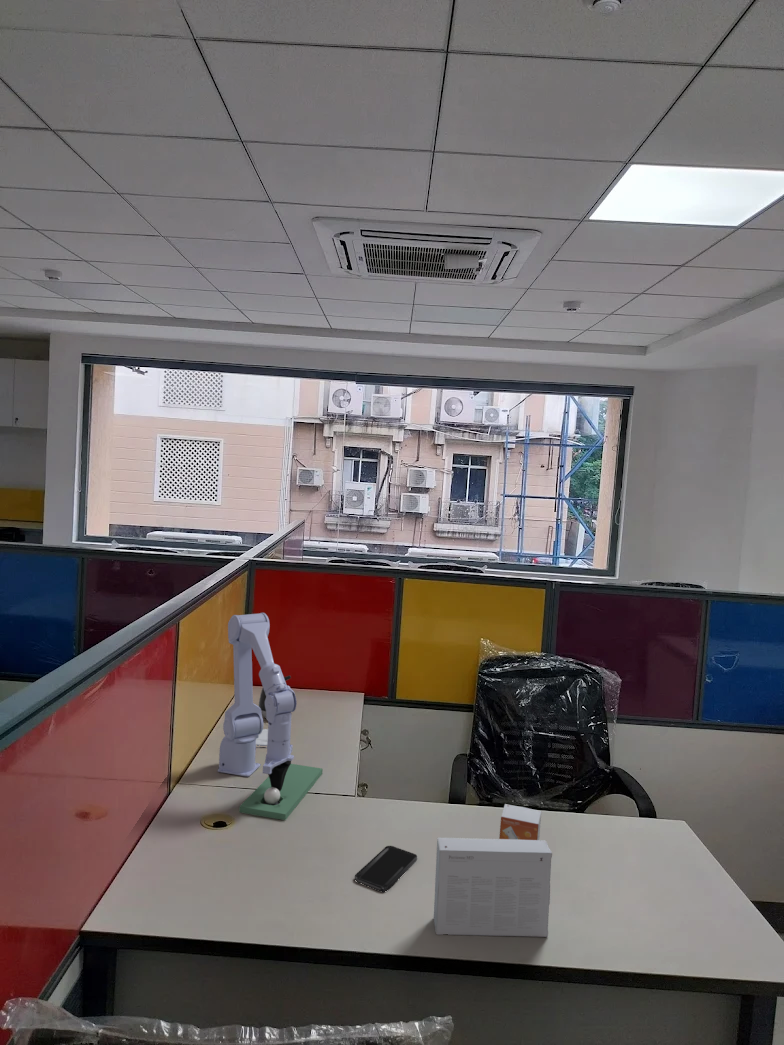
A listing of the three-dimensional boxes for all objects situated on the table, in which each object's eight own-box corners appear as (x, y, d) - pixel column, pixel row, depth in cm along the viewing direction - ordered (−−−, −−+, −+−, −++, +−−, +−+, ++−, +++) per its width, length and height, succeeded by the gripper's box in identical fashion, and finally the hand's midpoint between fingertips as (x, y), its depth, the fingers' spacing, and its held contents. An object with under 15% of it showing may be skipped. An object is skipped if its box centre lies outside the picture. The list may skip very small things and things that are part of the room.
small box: (496, 875, 142) (500, 816, 141) (500, 859, 148) (504, 802, 147) (534, 884, 140) (539, 823, 139) (537, 867, 146) (541, 810, 145)
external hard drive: (284, 734, 215) (276, 750, 202) (258, 733, 215) (249, 748, 202) (284, 729, 214) (276, 745, 202) (258, 728, 215) (249, 743, 202)
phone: (352, 877, 138) (388, 844, 151) (352, 882, 138) (387, 849, 151) (385, 890, 134) (419, 855, 147) (385, 895, 134) (419, 860, 147)
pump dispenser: (290, 722, 224) (292, 677, 223) (258, 722, 222) (260, 678, 221) (288, 711, 234) (290, 669, 233) (257, 712, 232) (259, 669, 231)
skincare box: (541, 919, 129) (546, 839, 128) (548, 938, 123) (554, 855, 122) (432, 915, 128) (436, 835, 127) (434, 935, 122) (439, 851, 121)
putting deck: (239, 812, 163) (239, 806, 163) (282, 767, 189) (282, 762, 189) (285, 820, 160) (285, 814, 160) (322, 773, 186) (322, 768, 186)
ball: (266, 794, 170) (264, 808, 167) (263, 784, 168) (262, 798, 165) (281, 793, 170) (280, 807, 167) (279, 783, 168) (278, 797, 165)
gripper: (282, 750, 161) (280, 805, 162) (304, 729, 175) (301, 780, 176) (255, 746, 163) (253, 800, 164) (279, 726, 177) (276, 776, 178)
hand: (276, 790), depth 170 cm, fingers closed
